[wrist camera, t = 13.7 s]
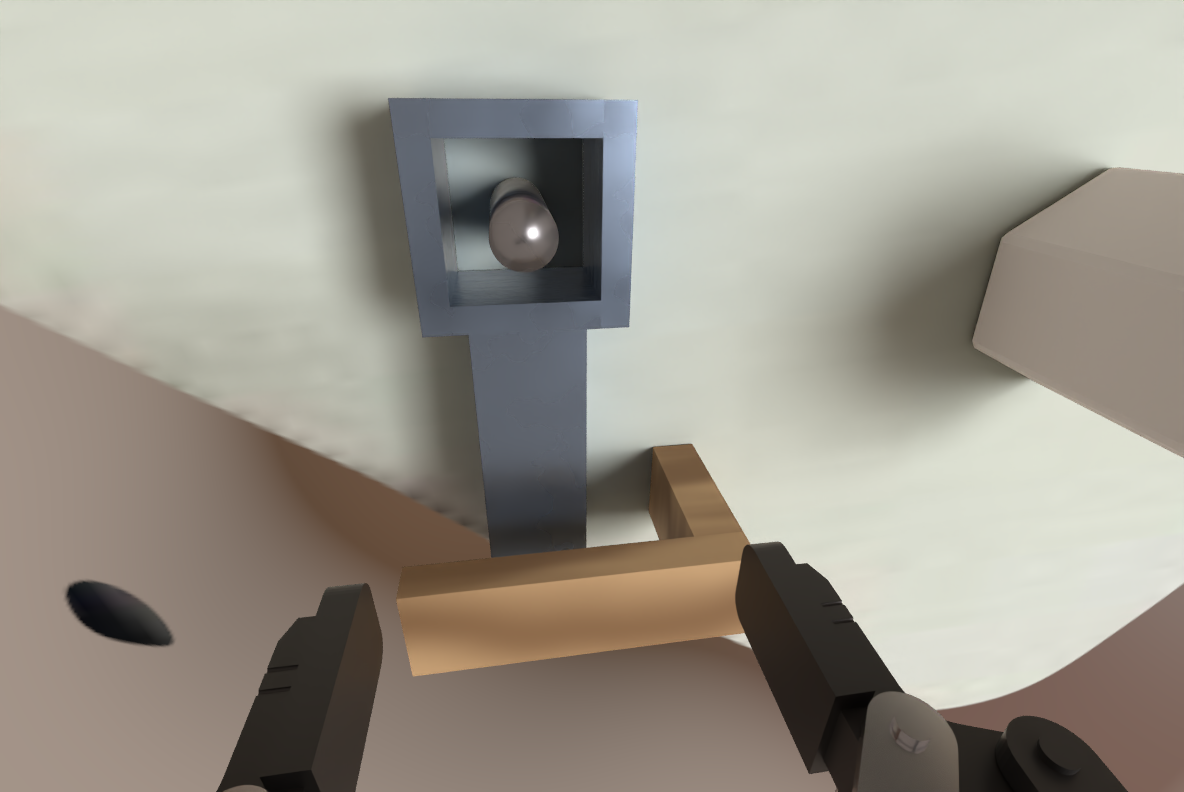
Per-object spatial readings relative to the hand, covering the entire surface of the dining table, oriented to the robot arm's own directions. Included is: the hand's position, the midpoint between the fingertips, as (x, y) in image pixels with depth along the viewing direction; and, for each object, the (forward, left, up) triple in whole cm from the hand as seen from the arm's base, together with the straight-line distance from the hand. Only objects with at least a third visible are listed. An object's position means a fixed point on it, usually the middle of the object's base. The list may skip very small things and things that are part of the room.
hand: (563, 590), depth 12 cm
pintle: (-6, 0, -14) cm, 15 cm away
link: (0, 0, -14) cm, 14 cm away
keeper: (+8, +1, -14) cm, 16 cm away
